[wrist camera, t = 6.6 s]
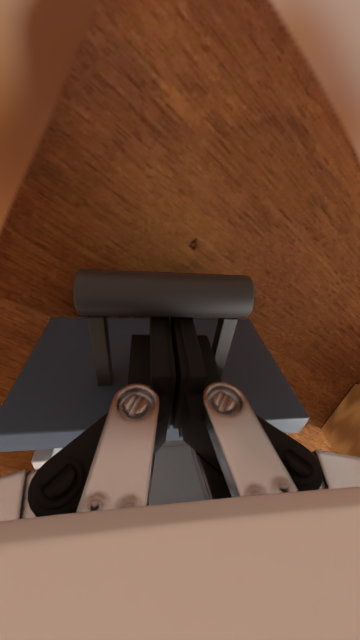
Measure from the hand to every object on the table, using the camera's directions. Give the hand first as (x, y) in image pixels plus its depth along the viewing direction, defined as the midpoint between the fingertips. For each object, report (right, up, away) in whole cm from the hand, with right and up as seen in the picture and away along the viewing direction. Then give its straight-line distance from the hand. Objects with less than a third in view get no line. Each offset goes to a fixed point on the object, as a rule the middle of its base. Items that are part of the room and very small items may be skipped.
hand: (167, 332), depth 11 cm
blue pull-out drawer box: (-1, -3, +7) cm, 8 cm away
